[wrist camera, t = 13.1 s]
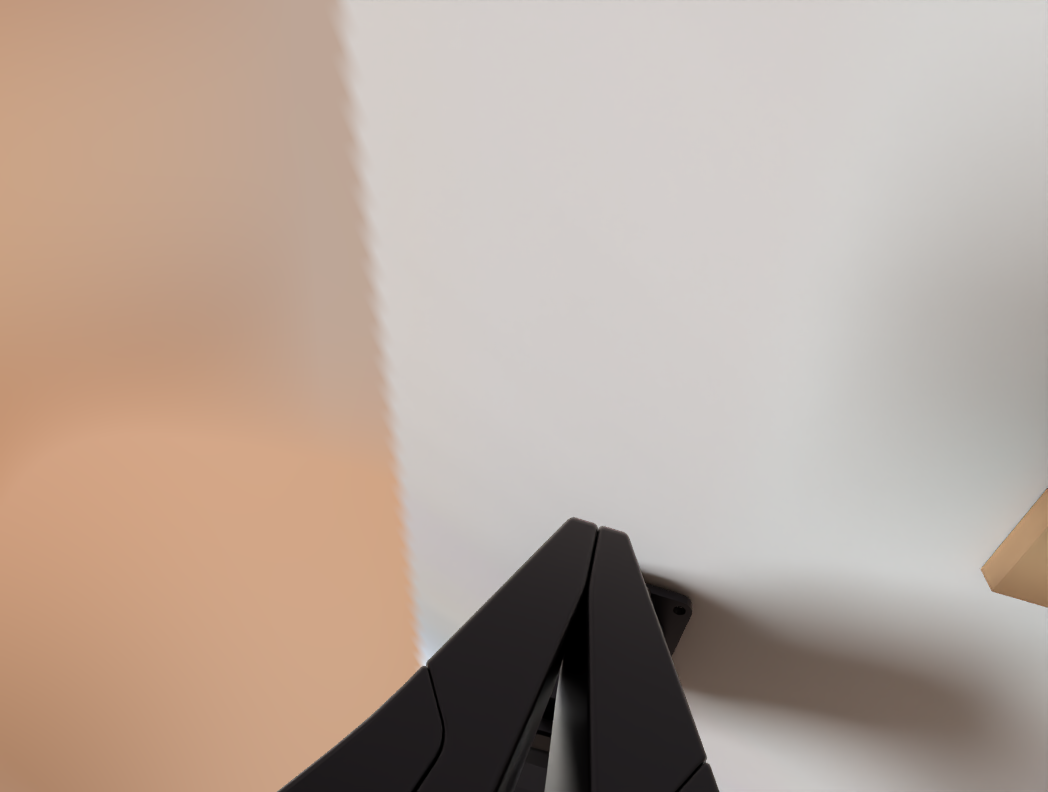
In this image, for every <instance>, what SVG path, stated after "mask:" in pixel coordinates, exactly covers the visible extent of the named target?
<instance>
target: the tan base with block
mask: <svg viewBox="0 0 1048 792" xmlns="http://www.w3.org/2000/svg"><path fill="white" fill-rule="evenodd" d="M981 571H982V573H983V575H984V577H985V579H986V581H987V583H988V585H989V587H990V589H991V591H993V592H996V593H999V594H1003V595H1006V596H1010V597H1013V598H1017V599H1020V600H1024V601H1027V602H1030V603H1034V604H1037V605H1041V606H1044V607H1048V488H1047V489H1046V491H1045V492H1044V493H1043V494H1042V496H1041V497H1040V498H1039V499H1038V500H1037V502H1036V503H1035V504H1034V505H1033V506H1032V508H1031V509H1030V510H1029V511H1028V512H1027V514H1026V515H1025V516H1024V517H1023V519H1022V520H1021V521H1020V522H1019V523H1018V525H1017V526H1016V527H1015V528H1014V529H1013V531H1012V532H1011V533H1010V534H1009V535H1008V537H1007V538H1006V539H1005V540H1004V542H1003V543H1002V544H1001V545H1000V546H999V548H998V549H997V550H996V551H995V552H994V554H993V555H992V556H991V557H990V558H989V560H988V561H987V562H986V563H985V565H984V566H983V567H982V568H981Z"/></svg>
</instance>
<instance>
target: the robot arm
mask: <svg viewBox="0 0 1048 792" xmlns="http://www.w3.org/2000/svg"><path fill="white" fill-rule="evenodd" d="M677 606H680V607H677ZM681 607H682V608H681ZM691 615H692V602H691V600H690V599H689V598H688V597H686V596H684V595H681V594H678V593H675V592H672V591H668V590H665V589H662V588H659V587H656V586H652V585H649V584H646V583H645V581H644V579H643V576H642V573H641V570H640V567H639V565H638V562H637V559H636V556H635V553H634V550H633V548H632V545H631V542H630V539H629V537H628V535H627V534H626V533H624V532H622V531H618V530H615V529H612V528H608V527H605V526H601V527H600V528H599V529H598V527H597V525H596V524H594V523H592V522H588V521H585V520H582V519H578V518H575V517H572V518H570V519H568V520H567V521H566V522H565V523H564V524H563V525H562V526H561V527H560V528H559V529H558V530H557V531H556V532H555V533H554V534H553V535H552V536H551V537H550V538H549V539H548V540H547V541H546V542H545V543H544V544H543V545H542V546H541V547H540V548H539V549H538V550H537V551H536V552H535V553H534V554H533V555H532V556H531V557H530V558H529V559H528V560H527V561H526V562H525V563H524V564H523V565H522V566H521V567H520V568H519V569H518V570H517V571H516V572H515V573H514V574H513V575H512V577H511V578H510V579H509V580H508V581H507V582H506V583H505V584H504V585H503V586H502V587H501V588H500V589H499V590H498V591H497V592H496V593H495V594H494V595H493V596H492V597H491V598H490V599H489V600H488V601H487V602H486V603H485V604H484V605H483V606H482V607H481V608H480V609H479V610H478V611H477V612H476V613H475V614H474V615H473V616H472V617H471V618H470V619H469V620H468V621H467V622H466V623H465V624H464V625H463V626H462V627H461V628H460V629H459V630H458V631H457V632H456V633H455V634H454V635H453V636H452V637H451V638H450V639H449V640H448V641H447V642H446V643H445V644H444V645H443V646H442V647H441V648H440V649H439V650H438V651H437V652H436V653H435V654H434V655H433V656H432V657H431V658H430V659H429V660H428V661H427V663H426V666H422V667H421V668H420V669H419V670H418V671H417V672H416V673H415V674H414V675H413V676H412V677H411V678H410V679H409V680H408V681H407V682H406V683H405V684H404V685H403V686H402V687H401V688H400V689H399V690H398V691H397V692H396V693H395V694H394V695H393V696H391V697H390V698H389V699H388V700H387V701H386V702H385V703H384V704H383V705H382V706H381V707H380V708H379V709H378V710H377V711H376V712H374V713H373V714H372V715H371V716H370V717H369V718H368V719H367V720H365V721H364V722H363V723H362V724H361V725H359V726H358V728H356V729H355V730H353V731H352V732H351V733H350V734H349V735H347V737H345V738H344V739H343V740H342V741H340V742H339V743H338V744H337V745H336V746H334V747H333V748H332V749H331V750H329V751H328V752H327V753H326V754H325V755H323V756H322V757H320V758H319V759H318V760H317V761H316V762H314V763H313V764H312V765H311V766H309V767H308V768H307V769H305V770H304V771H303V772H302V773H300V774H299V775H298V776H296V777H295V778H294V779H293V780H291V781H290V782H289V783H288V784H286V785H285V786H284V787H282V788H281V789H280V790H279V791H277V792H719V789H718V787H717V784H716V781H715V778H714V775H713V772H712V769H711V767H710V765H709V764H708V763H706V760H707V756H706V753H705V751H704V748H703V745H702V742H701V739H700V736H699V734H698V731H697V728H696V725H695V722H694V720H693V717H692V714H691V711H690V708H689V705H688V703H687V700H686V697H685V694H684V691H683V689H682V686H681V683H680V680H679V677H678V674H677V672H676V669H675V666H674V663H673V660H672V658H671V657H672V654H673V652H674V650H675V648H676V646H677V644H678V642H679V640H680V638H681V636H682V634H683V631H684V629H685V627H686V625H687V623H688V621H689V619H690V617H691Z"/></svg>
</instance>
